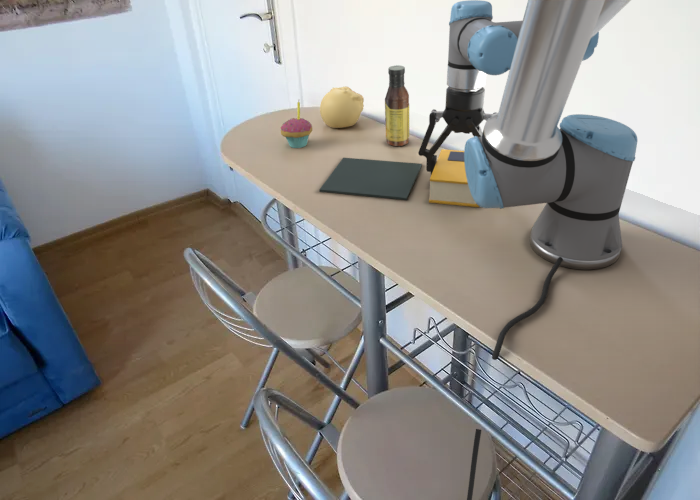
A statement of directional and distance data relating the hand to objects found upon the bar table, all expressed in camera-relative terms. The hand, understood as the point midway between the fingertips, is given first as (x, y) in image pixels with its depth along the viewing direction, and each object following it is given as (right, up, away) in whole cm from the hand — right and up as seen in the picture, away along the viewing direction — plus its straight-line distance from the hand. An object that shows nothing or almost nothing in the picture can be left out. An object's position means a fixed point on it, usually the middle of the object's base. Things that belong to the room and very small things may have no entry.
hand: (458, 186), depth 116 cm
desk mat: (-19, +3, +6) cm, 20 cm away
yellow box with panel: (0, 0, 0) cm, 0 cm away
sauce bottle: (-11, +14, +23) cm, 30 cm away
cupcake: (-38, +14, +26) cm, 48 cm away
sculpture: (-26, +23, +37) cm, 51 cm away
